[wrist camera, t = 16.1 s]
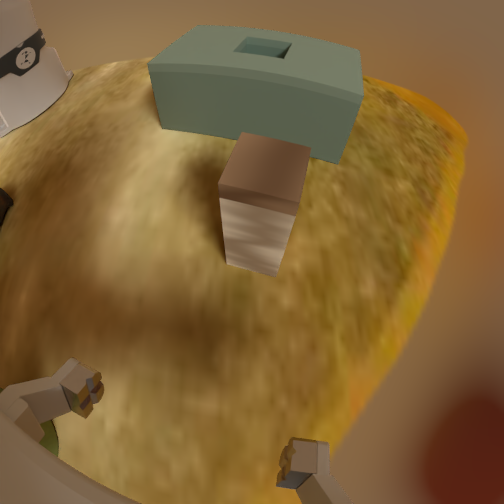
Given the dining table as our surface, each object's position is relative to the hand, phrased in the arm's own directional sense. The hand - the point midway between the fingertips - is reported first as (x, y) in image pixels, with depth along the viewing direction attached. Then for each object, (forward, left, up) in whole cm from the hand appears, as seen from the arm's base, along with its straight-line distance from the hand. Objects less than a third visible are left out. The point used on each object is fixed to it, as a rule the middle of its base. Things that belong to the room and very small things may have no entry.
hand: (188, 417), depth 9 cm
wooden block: (-3, +12, -9) cm, 15 cm away
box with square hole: (-12, +28, -9) cm, 32 cm away
